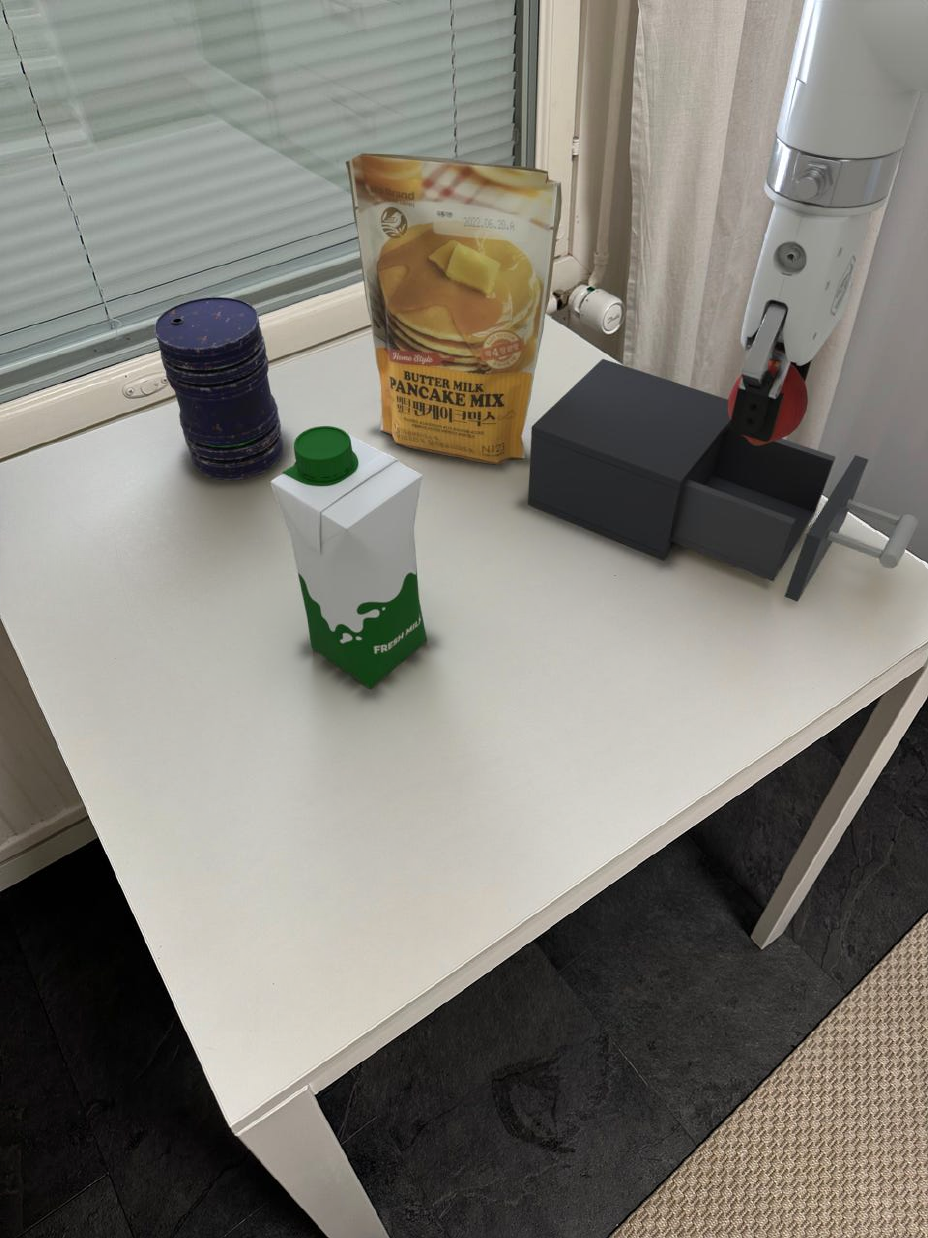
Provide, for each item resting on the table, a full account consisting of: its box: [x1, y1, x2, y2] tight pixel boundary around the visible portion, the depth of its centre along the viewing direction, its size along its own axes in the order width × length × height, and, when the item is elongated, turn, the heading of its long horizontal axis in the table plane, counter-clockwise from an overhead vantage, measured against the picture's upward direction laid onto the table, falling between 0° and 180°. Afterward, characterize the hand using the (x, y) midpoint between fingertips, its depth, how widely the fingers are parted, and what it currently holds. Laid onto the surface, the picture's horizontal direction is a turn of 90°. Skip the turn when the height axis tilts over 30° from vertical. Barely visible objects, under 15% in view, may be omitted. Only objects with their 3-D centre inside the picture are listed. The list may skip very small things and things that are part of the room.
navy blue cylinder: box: [153, 296, 285, 481], centre depth 89 cm, size 10×10×15 cm
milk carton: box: [270, 425, 428, 690], centre depth 69 cm, size 9×9×20 cm
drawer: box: [671, 428, 919, 603], centre depth 80 cm, size 20×13×7 cm, turn 56°
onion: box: [727, 359, 809, 445], centre depth 68 cm, size 6×6×8 cm
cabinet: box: [527, 358, 731, 561], centre depth 86 cm, size 15×14×9 cm
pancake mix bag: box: [345, 152, 563, 465], centre depth 86 cm, size 7×19×28 cm, turn 71°
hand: (765, 411), depth 69 cm, fingers closed on onion, 5 cm apart
